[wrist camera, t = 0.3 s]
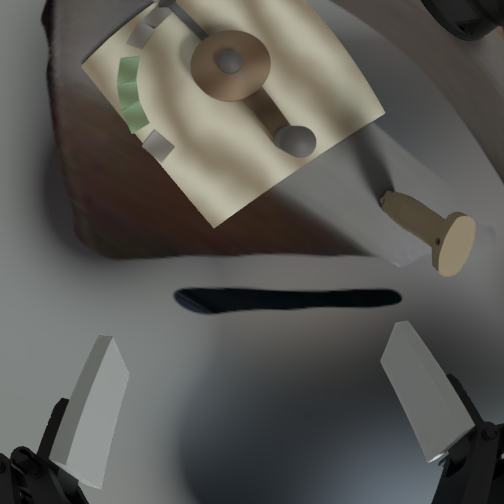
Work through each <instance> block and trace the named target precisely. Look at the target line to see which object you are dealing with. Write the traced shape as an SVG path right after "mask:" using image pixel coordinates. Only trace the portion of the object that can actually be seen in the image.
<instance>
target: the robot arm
mask: <svg viewBox="0 0 504 504" xmlns="http://www.w3.org/2000/svg"><path fill="white" fill-rule="evenodd" d="M422 1H423V3H424V4H425V6H426V7H427V9H428V10H429V11H430V13H431V14H432V15H433V16H434V18H435V19H436V20H437V21H438V22H439V23H440V24H441V25H442V26H443V27H444V28H445V29H446V30H448V31H449V32H450V33H451V34H453V35H454V36H456V37H458V38H460V39H462V40H466V41H471V40H478V39H481V38H483V37H484V36H485V35H487V34H488V33H489V32H491V31H492V30H494V29H495V28H496V27H498V26H504V0H422ZM380 362H381V364H382V366H383V368H384V370H385V372H386V374H387V376H388V378H389V380H390V382H391V384H392V386H393V387H394V390H395V392H396V394H397V396H398V398H399V400H400V401H401V404H402V406H403V408H404V410H405V412H406V415H407V417H408V419H409V421H410V423H411V425H412V428H413V430H414V432H415V434H416V437H417V439H418V441H419V443H420V446H421V448H422V450H423V453H424V455H425V458H426V460H427V462H428V463H429V462H431V461H433V460H435V459H437V458H439V457H440V456H442V455H443V454H444V453H445V452H447V451H448V452H449V454H448V455H447V456H446V457H445V458H444V459H442V460H441V461H440V462H439V464H438V466H440V465H441V464H442V463H444V462H445V461H446V462H445V464H444V465H443V467H444V469H443V472H442V475H441V478H440V481H439V484H438V487H437V490H436V493H435V495H434V498H433V501H432V503H431V504H504V459H502V457H501V455H502V454H503V453H504V423H503V424H498V425H494V424H493V423H491V422H484V421H483V419H482V418H481V417H480V415H479V413H478V411H477V409H476V408H475V406H474V404H473V403H472V401H471V399H470V398H469V397H468V396H467V393H466V391H465V390H463V387H462V385H461V383H460V382H459V380H457V378H455V377H454V376H453V375H452V374H448V375H445V374H444V372H443V371H442V369H441V368H440V366H439V365H438V363H437V361H436V360H435V358H434V357H433V356H432V354H431V353H430V351H429V350H428V348H427V347H426V345H425V344H424V342H423V341H422V340H421V338H420V337H419V335H418V334H417V332H416V331H415V330H414V328H413V327H412V326H411V324H410V323H409V321H403V322H397V323H395V326H394V329H393V331H392V334H391V336H390V339H389V341H388V344H387V346H386V349H385V351H384V354H383V356H382V358H381V361H380ZM129 375H130V374H129V372H128V370H127V368H126V366H125V364H124V362H123V360H122V357H121V355H120V352H119V350H118V348H117V346H116V343H115V341H114V338H113V337H112V336H100V335H99V336H98V338H97V340H96V342H95V344H94V346H93V348H92V351H91V352H90V355H89V357H88V359H87V361H86V363H85V365H84V368H83V370H82V372H81V375H80V377H79V379H78V381H77V383H76V386H75V388H74V391H73V393H72V395H71V398H70V400H68V399H65V398H61V400H60V401H59V402H58V403H57V404H56V405H55V407H54V409H53V412H52V414H51V418H50V419H49V422H48V425H47V427H46V429H45V432H44V435H43V438H42V440H41V443H40V446H39V449H38V452H37V454H35V453H33V452H32V451H31V450H30V449H29V448H27V447H24V446H21V447H17V448H16V449H14V450H13V452H12V453H11V457H10V459H9V458H7V457H6V456H5V455H4V454H2V453H0V504H89V503H88V501H87V500H86V498H85V496H84V494H83V492H82V490H81V488H80V487H79V486H78V481H81V482H82V483H84V484H85V485H89V486H92V487H94V488H98V489H101V488H102V483H103V478H104V472H105V468H106V463H107V458H108V454H109V449H110V445H111V441H112V437H113V432H114V429H115V425H116V421H117V417H118V413H119V410H120V406H121V403H122V399H123V396H124V392H125V389H126V385H127V382H128V379H129ZM20 493H21V496H20Z"/></svg>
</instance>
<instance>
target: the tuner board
mask: <svg viewBox="0 0 504 504" xmlns="http://www.w3.org/2000/svg"><path fill="white" fill-rule="evenodd" d="M176 3H177V4H178V5H179V6H180V7H181V8H182V9H183V10H184V11H185V12H186V13H187V14H188V15H189V16H190V17H191V18H192V19H193V20H194V21H195V22H196V23H197V24H198V25H199V26H200V27H201V28H202V29H203V30H204V31H205V32H206V33H207V34H208V35H209V36H210V35H212V34H215V33H217V32H221V31H226V30H238V31H243V32H247V33H249V34H251V35H253V36H255V37H257V38H258V39H259V40H260V41H261V42H262V43H263V44H264V45H265V47H266V48H267V50H268V52H269V55H270V59H271V69H270V73H269V76H268V78H267V80H266V81H265V83H264V84H263V86H262V87H263V88H264V90H265V91H266V92H267V93H268V95H269V96H270V97H271V99H272V100H273V101H274V103H275V104H276V105H277V107H278V108H279V109H280V111H281V112H282V113H283V115H284V116H285V118H286V119H287V120H288V122H289V123H290V125H291V126H304V127H307V128H309V129H310V130H311V131H312V132H313V133H314V135H315V137H316V148H315V150H314V151H313V153H312V154H311V155H309V156H307V157H305V158H297V157H294V156H292V155H290V154H288V153H286V152H284V151H283V150H281V149H279V148H277V147H276V146H275V145H274V143H273V141H272V138H271V136H270V135H269V134H268V132H267V131H266V130H265V128H264V127H263V126H262V124H261V123H260V122H259V120H258V119H257V118H256V116H255V115H254V114H253V112H252V111H251V110H250V108H249V107H248V106H247V105H246V103H245V102H244V101H243V100H241V101H236V102H224V101H219V100H216V99H214V98H211V97H210V96H208V95H207V94H205V93H204V92H203V91H202V90H201V89H200V88H199V87H198V85H197V84H196V83H195V81H194V79H193V77H192V74H191V66H190V64H191V58H192V55H193V53H194V51H195V49H196V47H197V46H198V45H199V44H200V43H201V42H202V41H201V40H200V39H199V38H198V36H197V35H196V34H195V33H194V32H193V31H192V30H191V29H190V28H189V27H188V26H187V25H186V24H185V23H184V22H183V21H182V20H181V19H180V18H179V17H178V16H177V15H176V14H175V13H174V12H173V11H172V10H171V9H170V8H169V7H165V8H159V6H158V4H159V0H158V1H156V2H155V3H153V4H152V5H150V6H149V7H148V8H146V9H145V10H144V11H142V12H141V13H140V14H138V15H137V16H136V17H134V18H133V19H132V20H131V21H129V22H128V23H127V24H126V25H124V26H123V27H122V28H121V29H120V30H118V31H117V32H116V33H115V34H114V35H113V36H112V37H110V38H109V39H108V40H107V41H106V42H105V43H104V44H103V45H102V46H101V47H100V48H99V49H98V50H97V51H95V52H94V53H93V54H92V55H91V56H90V57H89V58H88V59H87V61H86V62H85V63H84V64H83V65H82V66H81V67H82V68H83V69H84V71H85V72H86V73H87V74H88V76H89V77H90V78H91V80H92V81H93V82H94V83H95V85H96V86H97V87H98V88H99V90H100V91H101V92H102V93H103V95H104V96H105V97H106V98H107V100H108V101H109V102H110V103H111V105H112V106H113V107H114V108H115V109H116V111H117V112H118V113H119V114H120V116H121V117H122V118H123V119H124V121H125V122H126V123H127V124H128V127H129V129H130V131H131V133H132V134H133V133H135V134H136V135H137V137H138V138H139V139H140V140H141V141H142V143H143V145H142V147H143V148H144V149H146V150H147V151H148V152H149V153H150V154H152V155H153V156H154V157H155V158H156V160H157V161H158V162H159V163H160V165H161V166H162V167H163V168H164V169H165V171H166V172H167V173H168V174H169V175H170V177H171V178H172V179H173V180H174V181H175V183H176V184H177V185H178V186H179V187H180V189H181V190H182V191H183V192H184V193H185V195H186V196H187V197H188V198H189V199H190V201H191V202H192V203H193V204H194V205H195V207H196V208H197V209H198V210H199V211H200V212H201V214H202V215H203V216H204V217H205V218H206V220H207V221H208V222H209V223H210V224H211V226H212V227H213V228H215V227H216V226H218V225H219V224H221V223H222V222H223V221H225V220H226V219H227V218H229V217H230V216H232V215H233V214H234V213H236V212H237V211H239V210H240V209H241V208H243V207H244V206H246V205H247V204H248V203H250V202H251V201H253V200H254V199H255V198H257V197H258V196H260V195H261V194H262V193H264V192H265V191H267V190H268V189H270V188H271V187H273V186H274V185H275V184H277V183H278V182H280V181H281V180H283V179H284V178H286V177H287V176H289V175H290V174H292V173H293V172H294V171H296V170H297V169H299V168H300V167H302V166H303V165H305V164H306V163H308V162H309V161H311V160H312V159H314V158H315V157H317V156H318V155H320V154H321V153H323V152H325V151H326V150H328V149H329V148H331V147H332V146H334V145H335V144H337V143H338V142H340V141H342V140H343V139H345V138H346V137H348V136H349V135H351V134H353V133H354V132H356V131H357V130H359V129H361V128H362V127H364V126H365V125H367V124H369V123H370V122H372V121H373V120H375V119H377V118H378V117H380V116H382V115H383V114H385V112H384V110H383V108H382V106H381V104H380V102H379V101H378V99H377V97H376V96H375V94H374V93H373V90H372V89H371V87H370V86H369V84H368V82H367V81H366V79H365V77H364V76H363V74H362V73H361V71H360V70H359V68H358V67H357V66H356V64H355V62H354V61H353V59H352V58H351V56H350V55H349V54H348V52H347V51H346V49H345V48H344V47H343V45H342V44H341V43H340V41H339V40H338V39H337V37H336V36H335V35H334V34H333V32H332V31H331V30H330V29H329V27H328V26H327V25H326V24H325V23H324V21H323V20H322V19H321V18H320V16H319V15H318V14H317V13H316V12H315V11H314V9H313V8H312V7H311V6H310V5H309V4H308V3H307V2H306V1H305V0H176Z"/></svg>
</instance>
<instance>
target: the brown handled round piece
mask: <svg viewBox="0 0 504 504" xmlns="http://www.w3.org/2000/svg"><path fill="white" fill-rule="evenodd" d="M158 6H159V8H165V7H169V8H170V9H171V10H172V11H173V12H174V13H175V14H176V15H177V16H178V17H179V18H180V19H181V20H182V21H183V22H184V23H185V24H186V25H187V26H188V27H189V28H190V29H191V30H192V31H193V32H194V33H195V34H196V35H197V36H198V38H199V39H200V40H201V41H202V42H201V43H200V44H199V45H198V46H197V47H196V49H195V51H194V53H193V55H192V58H191V64H190V66H191V74H192V77H193V79H194V81H195V83H196V84H197V85H198V87H199V88H200V89H201V90H202V91H203V92H204V93H205V94H207V95H208V96H210V97H211V98H214V99H216V100H219V101H224V102H236V101H241V100H243V101H244V102H245V103H246V105H247V106H248V107H249V108H250V110H251V111H252V112H253V114H254V115H255V116H256V118H257V119H258V120H259V122H260V123H261V124H262V126H263V127H264V128H265V130H266V131H267V132H268V134H269V135H270V136H271V138H272V141H273V143H274V145H275V146H276V147H277V148H279V149H281V150H283V151H284V152H286V153H288V154H290V155H292V156H294V157H297V158H305V157H307V156H309V155H311V154H312V153H313V151H314V150H315V148H316V137H315V135H314V133H313V132H312V131H311V130H310V129H309V128H307V127H304V126H291V125H290V123H289V122H288V120H287V119H286V118H285V116H284V115H283V113H282V112H281V111H280V109H279V108H278V107H277V105H276V104H275V103H274V101H273V100H272V99H271V97H270V96H269V95H268V93H267V92H266V91H265V90H264V88H263V87H262V86H263V84H264V83H265V81H266V80H267V78H268V76H269V73H270V69H271V59H270V55H269V52H268V50H267V48H266V47H265V45H264V44H263V43H262V42H261V41H260V40H259V39H258V38H257V37H255V36H253V35H251V34H249V33H247V32H243V31H238V30H226V31H221V32H217V33H215V34H212V35H210V36H209V35H208V34H207V33H206V32H205V31H204V30H203V29H202V28H201V27H200V26H199V25H198V24H197V23H196V22H195V21H194V20H193V19H192V18H191V17H190V16H189V15H188V14H187V13H186V12H185V11H184V10H183V9H182V8H181V7H180V6H179V5H178V4H177V3H176V0H159V4H158Z"/></svg>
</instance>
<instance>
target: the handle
mask: <svg viewBox="0 0 504 504" xmlns="http://www.w3.org/2000/svg"><path fill="white" fill-rule="evenodd" d="M380 203H381V204H382V210H383V211H384V212H385V213H386V214H388V216H389V217H390V218H391V219H392V220H393V221H394V222H395V223H396V224H398V225H399V226H400V227H402V228H403V229H405V230H406V231H408V232H409V233H411V234H413V235H414V236H416V237H417V238H419V239H421V240H422V241H423V242H425V243H426V244H428V245H429V246H431V247H432V265H433V266H434V268H435V269H436V270H437V271H438V272H439V273H440V274H441V275H442V276H446V277H448V276H453V275H455V274H456V273H458V272H459V270H460V269H461V268H462V266H463V265H464V263H465V262H466V260H467V258H468V256H469V254H470V251H471V248H472V246H473V242H474V237H475V222H474V220H473V219H472V218H471V217H469V216H468V215H466V214H463V213H461V212H454V213H451V214H450V215H448V217H447V218H446V219H444V218H442V217H441V216H440V215H438V214H437V213H435V212H434V211H432V210H431V209H429V208H428V207H427V206H425V205H424V204H422V203H421V202H419V201H418V200H416V199H414V198H412V197H410V196H408V195H405V194H402V193H398V192H392V191H390V190H388V191H386V193H385V194H384V196H383V197H381V198H380Z"/></svg>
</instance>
